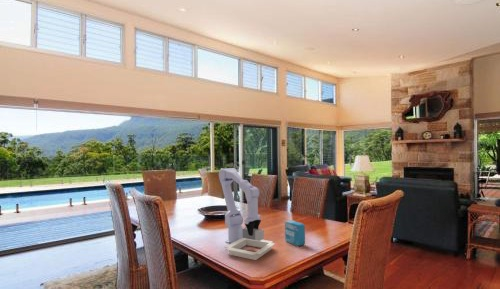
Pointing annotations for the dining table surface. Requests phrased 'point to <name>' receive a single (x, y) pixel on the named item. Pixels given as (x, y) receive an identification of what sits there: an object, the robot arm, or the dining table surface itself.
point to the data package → (295, 233)
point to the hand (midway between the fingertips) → (253, 234)
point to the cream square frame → (263, 244)
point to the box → (254, 234)
